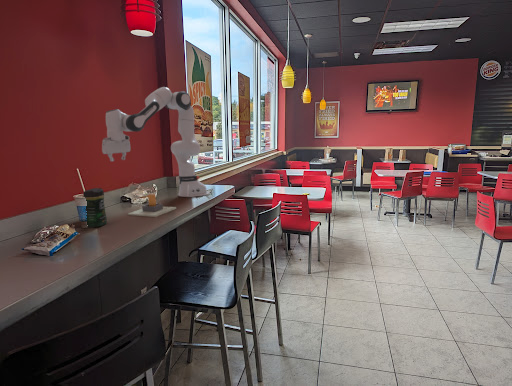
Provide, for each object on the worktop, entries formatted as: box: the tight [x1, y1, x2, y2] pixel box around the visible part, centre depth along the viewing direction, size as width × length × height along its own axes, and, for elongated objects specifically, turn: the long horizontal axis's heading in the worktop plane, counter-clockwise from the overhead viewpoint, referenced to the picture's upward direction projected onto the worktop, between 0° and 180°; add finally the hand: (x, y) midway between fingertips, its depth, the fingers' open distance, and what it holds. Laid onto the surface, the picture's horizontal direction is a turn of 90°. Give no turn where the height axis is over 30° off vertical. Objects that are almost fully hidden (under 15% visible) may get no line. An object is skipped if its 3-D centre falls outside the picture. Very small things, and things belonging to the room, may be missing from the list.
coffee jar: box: [82, 187, 108, 229], centre depth 165 cm, size 10×8×19 cm
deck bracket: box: [127, 203, 177, 218], centre depth 192 cm, size 18×20×4 cm
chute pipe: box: [147, 193, 157, 206], centre depth 192 cm, size 4×4×9 cm
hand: (118, 160), depth 202 cm, fingers open, 8 cm apart
